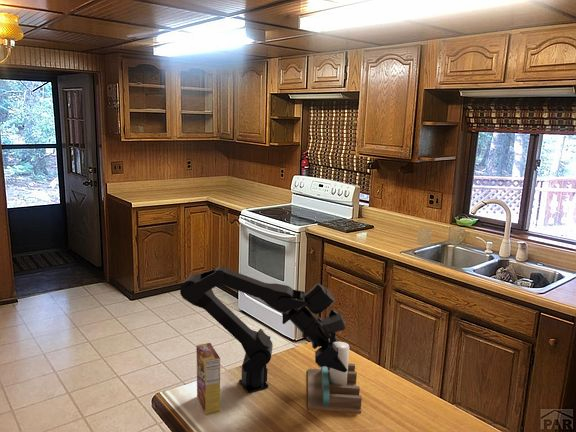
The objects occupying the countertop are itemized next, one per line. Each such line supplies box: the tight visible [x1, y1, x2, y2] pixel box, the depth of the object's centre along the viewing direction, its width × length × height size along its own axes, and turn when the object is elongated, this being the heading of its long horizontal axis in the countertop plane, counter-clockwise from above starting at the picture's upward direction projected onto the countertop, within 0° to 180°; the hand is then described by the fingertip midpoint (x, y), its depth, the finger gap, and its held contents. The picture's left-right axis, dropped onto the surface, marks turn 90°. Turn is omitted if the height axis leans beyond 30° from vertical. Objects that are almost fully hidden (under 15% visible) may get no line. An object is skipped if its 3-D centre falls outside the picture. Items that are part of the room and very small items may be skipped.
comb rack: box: [307, 362, 363, 414], centre depth 132 cm, size 20×14×5 cm
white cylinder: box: [329, 341, 350, 385], centre depth 131 cm, size 5×5×13 cm
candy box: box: [195, 342, 221, 415], centre depth 122 cm, size 9×4×15 cm, turn 25°
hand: (344, 362), depth 131 cm, fingers open, 9 cm apart
